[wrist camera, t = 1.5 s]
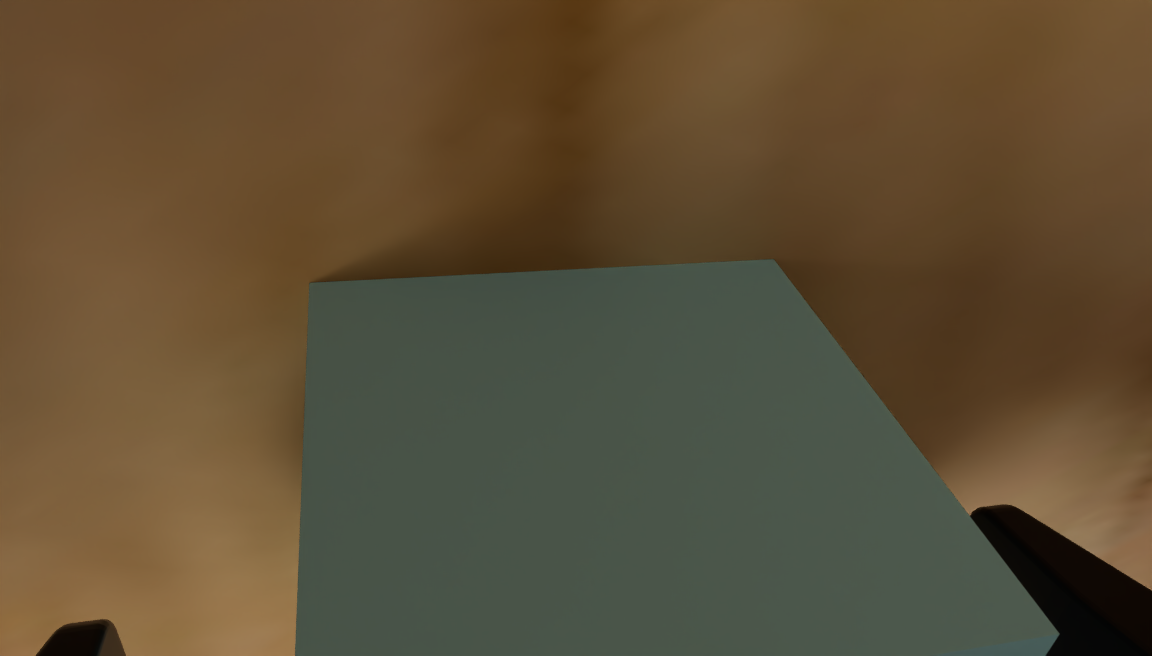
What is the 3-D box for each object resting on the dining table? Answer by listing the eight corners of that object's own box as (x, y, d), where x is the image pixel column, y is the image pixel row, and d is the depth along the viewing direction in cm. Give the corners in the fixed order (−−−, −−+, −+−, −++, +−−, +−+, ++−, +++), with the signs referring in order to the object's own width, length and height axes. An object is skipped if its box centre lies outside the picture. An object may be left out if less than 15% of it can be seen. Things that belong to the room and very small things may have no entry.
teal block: (771, 255, 10) (1058, 633, 6) (700, 550, 13) (862, 936, 9) (309, 278, 9) (292, 761, 5) (346, 595, 12) (353, 1060, 8)
